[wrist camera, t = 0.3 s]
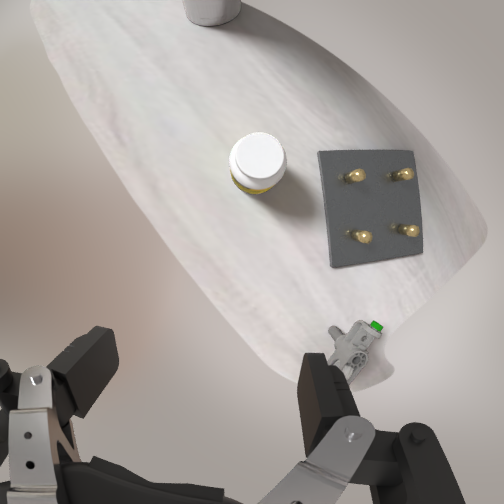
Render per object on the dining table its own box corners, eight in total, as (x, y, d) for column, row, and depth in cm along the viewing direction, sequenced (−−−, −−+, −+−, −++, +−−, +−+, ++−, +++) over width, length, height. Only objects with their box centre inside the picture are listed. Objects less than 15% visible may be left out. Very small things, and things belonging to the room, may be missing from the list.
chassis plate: (317, 152, 36) (326, 145, 31) (409, 151, 36) (425, 146, 31) (330, 266, 38) (340, 272, 33) (419, 251, 38) (436, 255, 34)
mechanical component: (358, 306, 39) (389, 331, 29) (321, 360, 40) (340, 396, 30) (344, 297, 39) (373, 322, 29) (306, 353, 40) (323, 389, 30)
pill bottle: (226, 188, 36) (219, 177, 25) (237, 145, 35) (236, 118, 24) (271, 200, 36) (283, 193, 25) (282, 156, 36) (298, 134, 25)
